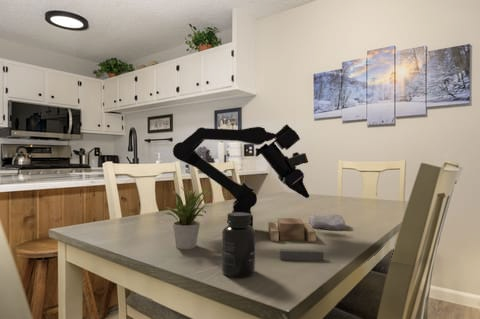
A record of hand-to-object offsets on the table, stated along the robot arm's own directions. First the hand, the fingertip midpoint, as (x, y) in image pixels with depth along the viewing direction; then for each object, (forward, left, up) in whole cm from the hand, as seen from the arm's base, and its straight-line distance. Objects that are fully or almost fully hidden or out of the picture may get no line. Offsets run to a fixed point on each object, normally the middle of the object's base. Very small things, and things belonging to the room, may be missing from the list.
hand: (305, 195), depth 100 cm
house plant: (-34, -21, -12) cm, 42 cm away
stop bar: (-7, -30, -12) cm, 33 cm away
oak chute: (-6, -9, -12) cm, 16 cm away
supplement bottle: (-21, -39, -12) cm, 46 cm away
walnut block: (-6, -9, -12) cm, 16 cm away
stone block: (+9, +6, -12) cm, 16 cm away
